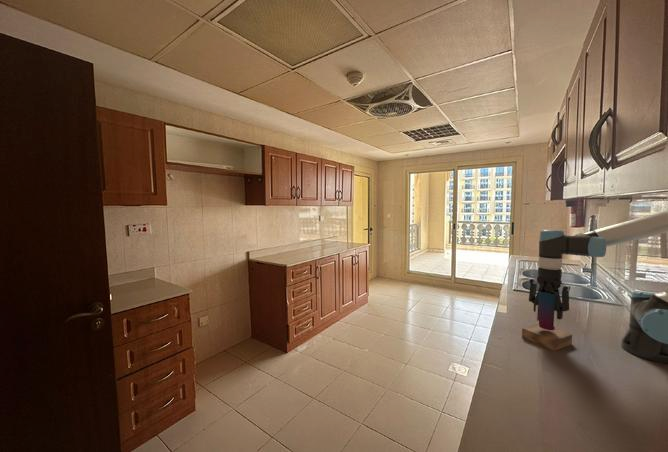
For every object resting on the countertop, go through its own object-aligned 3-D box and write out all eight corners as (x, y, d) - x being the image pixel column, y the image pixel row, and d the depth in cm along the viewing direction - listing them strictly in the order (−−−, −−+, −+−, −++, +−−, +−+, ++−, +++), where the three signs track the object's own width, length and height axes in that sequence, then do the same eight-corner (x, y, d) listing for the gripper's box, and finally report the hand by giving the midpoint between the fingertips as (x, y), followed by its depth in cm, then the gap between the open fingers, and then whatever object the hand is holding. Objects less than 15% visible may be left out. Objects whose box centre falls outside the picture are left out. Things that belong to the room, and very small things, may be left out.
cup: (549, 324, 114) (551, 289, 113) (561, 331, 107) (563, 294, 106) (532, 323, 114) (534, 289, 113) (543, 330, 107) (545, 294, 107)
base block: (571, 344, 108) (572, 334, 108) (554, 350, 103) (555, 340, 103) (538, 332, 119) (539, 323, 119) (521, 337, 114) (522, 328, 114)
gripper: (584, 271, 102) (580, 330, 103) (530, 262, 119) (527, 313, 121) (573, 273, 99) (570, 334, 100) (519, 264, 116) (517, 316, 117)
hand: (547, 322), depth 110 cm, fingers closed on cup, 6 cm apart
